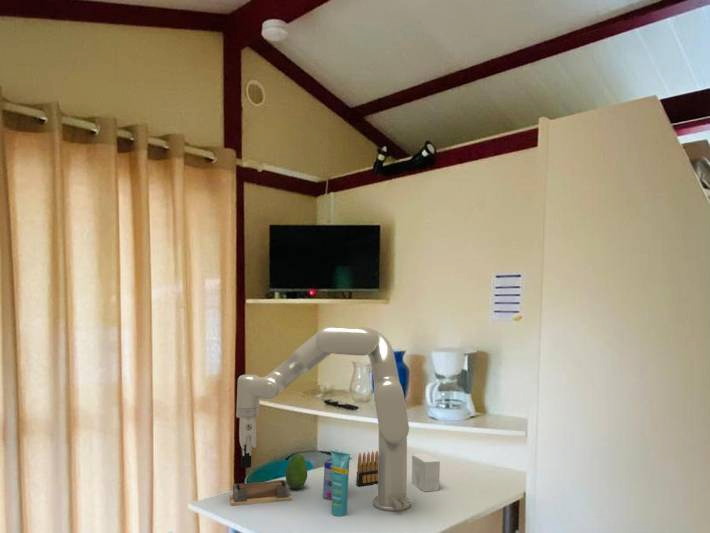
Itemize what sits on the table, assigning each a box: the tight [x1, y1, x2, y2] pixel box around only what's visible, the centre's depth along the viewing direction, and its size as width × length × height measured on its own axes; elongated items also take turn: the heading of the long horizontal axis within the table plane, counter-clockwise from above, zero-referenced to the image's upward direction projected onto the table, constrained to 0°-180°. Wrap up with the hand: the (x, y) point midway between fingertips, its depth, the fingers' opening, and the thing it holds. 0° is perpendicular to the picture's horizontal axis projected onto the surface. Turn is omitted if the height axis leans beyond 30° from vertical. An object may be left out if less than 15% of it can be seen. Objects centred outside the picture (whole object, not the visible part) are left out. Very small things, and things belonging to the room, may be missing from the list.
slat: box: [238, 480, 282, 499], centre depth 183 cm, size 4×14×4 cm, turn 107°
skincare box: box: [411, 453, 441, 493], centre depth 198 cm, size 10×6×10 cm, turn 20°
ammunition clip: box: [355, 450, 379, 488], centre depth 199 cm, size 11×2×12 cm, turn 116°
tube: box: [330, 449, 351, 517], centre depth 173 cm, size 7×5×19 cm, turn 62°
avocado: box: [285, 453, 308, 490], centre depth 194 cm, size 8×8×12 cm
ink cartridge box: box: [322, 451, 343, 500], centre depth 188 cm, size 10×6×14 cm, turn 160°
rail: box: [229, 479, 293, 507], centre depth 183 cm, size 7×20×4 cm, turn 107°
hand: (245, 467), depth 182 cm, fingers closed
